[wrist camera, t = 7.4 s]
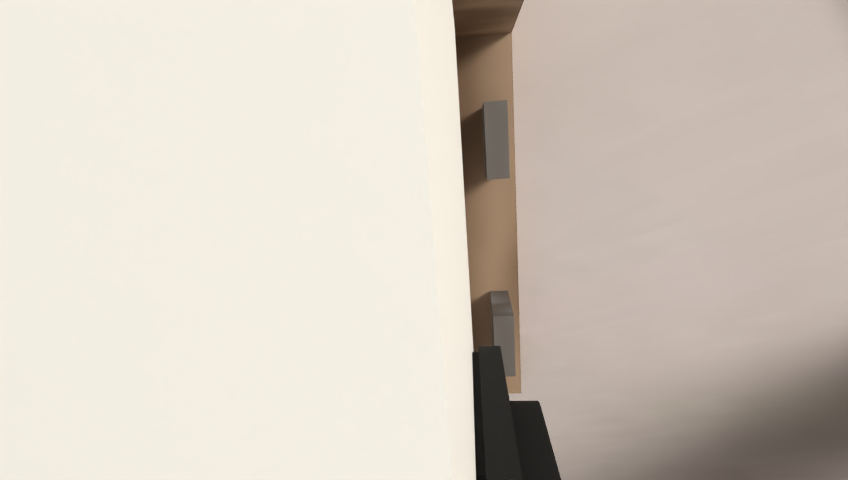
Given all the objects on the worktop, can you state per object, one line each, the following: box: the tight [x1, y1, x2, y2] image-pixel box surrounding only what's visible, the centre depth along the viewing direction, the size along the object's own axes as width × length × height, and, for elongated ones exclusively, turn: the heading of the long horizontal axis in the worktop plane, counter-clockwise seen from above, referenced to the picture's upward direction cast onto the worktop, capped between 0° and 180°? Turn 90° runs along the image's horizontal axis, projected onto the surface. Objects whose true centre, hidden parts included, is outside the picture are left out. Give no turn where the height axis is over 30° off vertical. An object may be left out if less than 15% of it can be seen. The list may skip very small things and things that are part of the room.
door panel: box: [0, 0, 476, 480], centre depth 8 cm, size 4×18×10 cm, turn 5°
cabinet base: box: [452, 0, 524, 393], centre depth 21 cm, size 8×26×14 cm, turn 5°
